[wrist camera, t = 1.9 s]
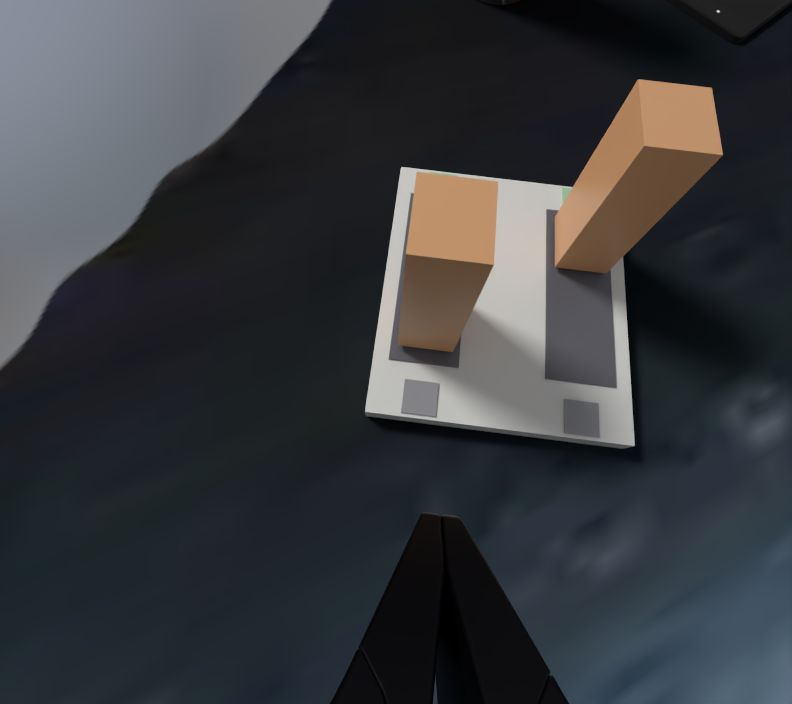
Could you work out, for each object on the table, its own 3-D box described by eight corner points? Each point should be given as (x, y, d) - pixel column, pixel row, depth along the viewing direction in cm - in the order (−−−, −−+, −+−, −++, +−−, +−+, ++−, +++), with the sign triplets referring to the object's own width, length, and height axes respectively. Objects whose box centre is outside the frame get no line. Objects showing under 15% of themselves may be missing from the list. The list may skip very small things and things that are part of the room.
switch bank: (622, 448, 23) (635, 445, 22) (365, 416, 23) (364, 411, 22) (609, 205, 28) (619, 191, 27) (400, 180, 29) (401, 165, 27)
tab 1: (452, 352, 23) (493, 264, 14) (397, 345, 23) (405, 253, 14) (457, 294, 24) (498, 181, 16) (404, 287, 24) (416, 171, 16)
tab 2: (606, 273, 25) (722, 155, 16) (554, 267, 25) (644, 145, 16) (604, 222, 26) (711, 87, 17) (554, 217, 26) (638, 79, 17)
